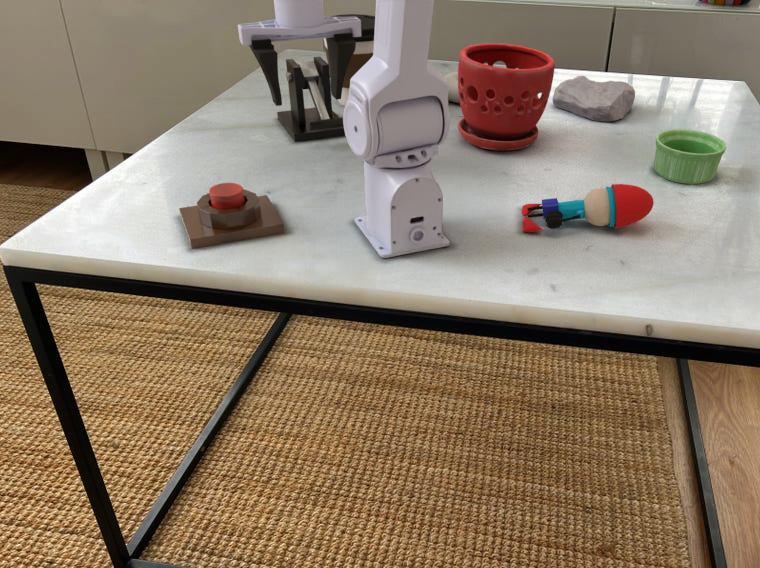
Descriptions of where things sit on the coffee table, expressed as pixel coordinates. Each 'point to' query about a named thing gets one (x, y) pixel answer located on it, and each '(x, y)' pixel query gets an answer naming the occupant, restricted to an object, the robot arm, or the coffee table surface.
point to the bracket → (298, 115)
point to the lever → (317, 99)
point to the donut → (453, 86)
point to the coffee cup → (357, 51)
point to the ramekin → (688, 155)
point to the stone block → (595, 98)
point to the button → (227, 196)
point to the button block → (230, 221)
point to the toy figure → (594, 208)
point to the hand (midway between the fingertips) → (307, 100)
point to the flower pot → (502, 94)
